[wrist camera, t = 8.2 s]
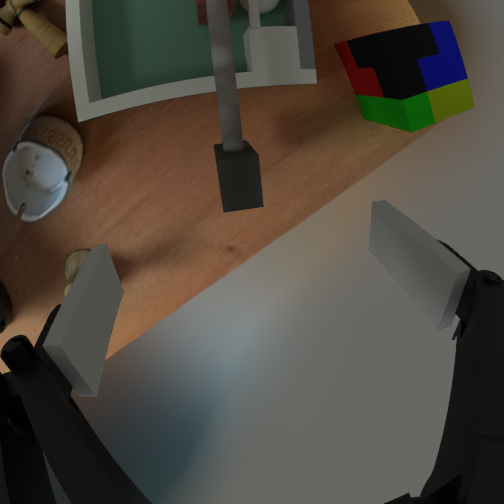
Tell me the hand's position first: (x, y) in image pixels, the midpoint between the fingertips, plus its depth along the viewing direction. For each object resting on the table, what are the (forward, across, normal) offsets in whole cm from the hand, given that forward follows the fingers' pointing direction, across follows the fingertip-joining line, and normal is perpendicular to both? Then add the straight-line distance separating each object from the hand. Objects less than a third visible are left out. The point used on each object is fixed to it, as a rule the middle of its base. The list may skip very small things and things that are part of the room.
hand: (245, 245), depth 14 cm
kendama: (+22, -20, +24) cm, 38 cm away
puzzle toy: (+22, +21, +9) cm, 32 cm away
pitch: (+22, -2, +17) cm, 28 cm away
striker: (+20, +1, +13) cm, 24 cm away
